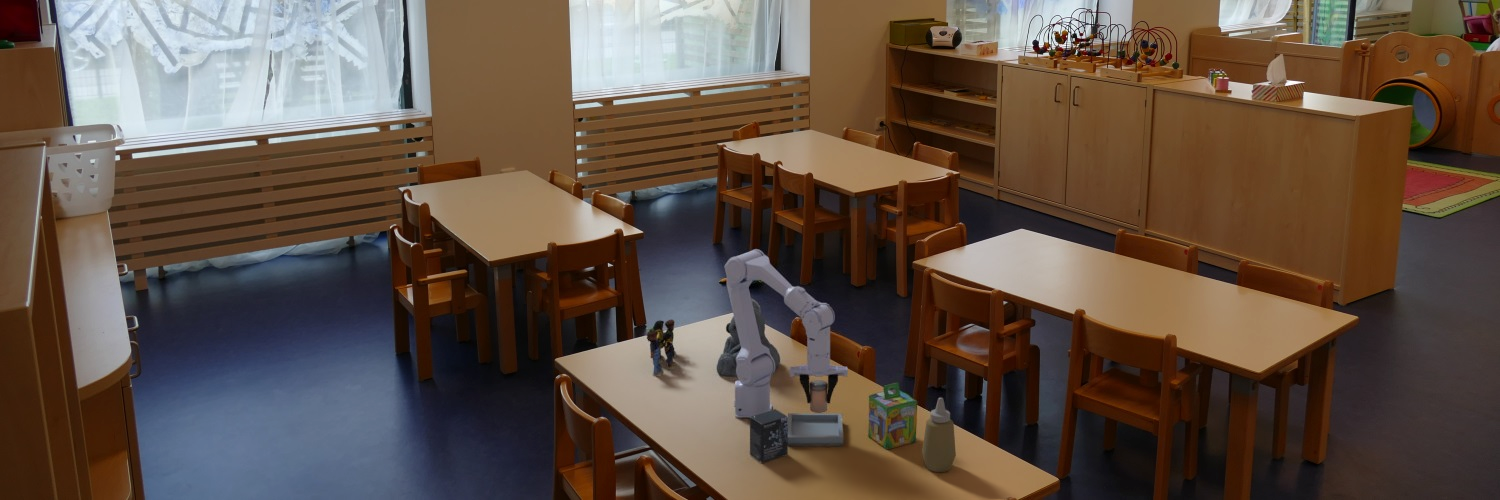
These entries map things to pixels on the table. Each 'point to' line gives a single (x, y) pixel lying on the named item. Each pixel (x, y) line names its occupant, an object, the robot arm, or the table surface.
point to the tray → (815, 429)
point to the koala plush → (733, 346)
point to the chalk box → (892, 417)
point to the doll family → (661, 345)
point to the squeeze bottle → (939, 440)
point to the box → (768, 435)
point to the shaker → (818, 396)
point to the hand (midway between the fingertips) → (818, 401)
